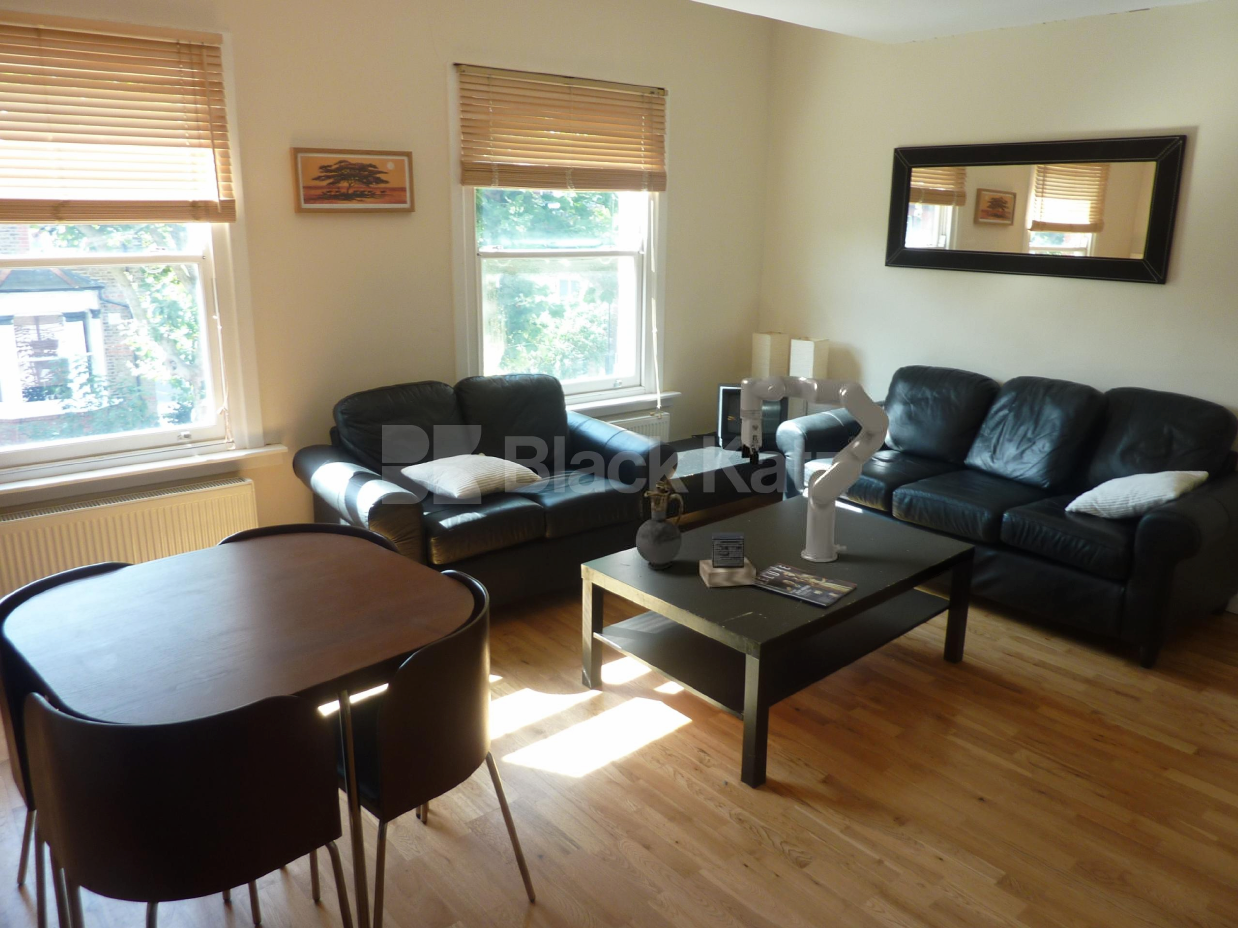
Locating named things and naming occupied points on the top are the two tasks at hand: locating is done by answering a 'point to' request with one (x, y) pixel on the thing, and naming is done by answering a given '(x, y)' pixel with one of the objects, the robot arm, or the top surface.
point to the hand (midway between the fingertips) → (749, 461)
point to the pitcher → (659, 530)
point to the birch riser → (727, 574)
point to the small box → (727, 550)
